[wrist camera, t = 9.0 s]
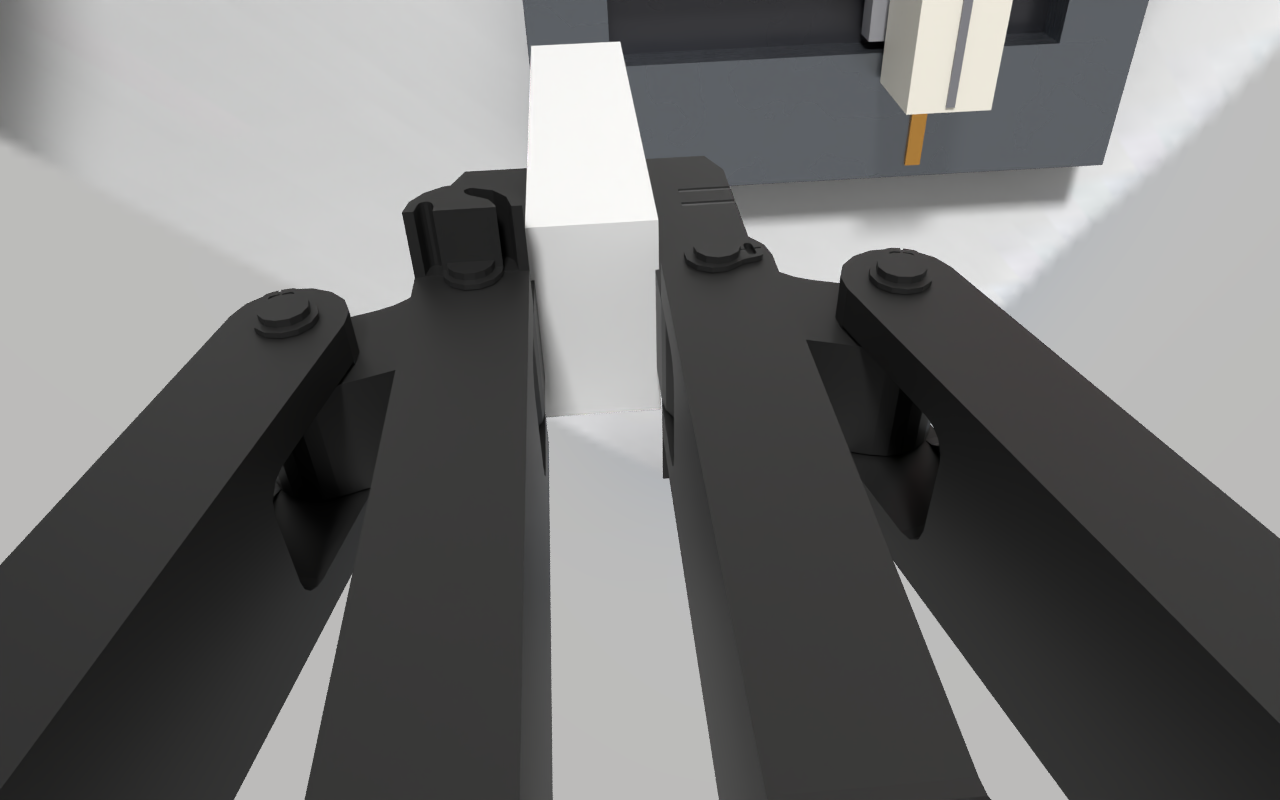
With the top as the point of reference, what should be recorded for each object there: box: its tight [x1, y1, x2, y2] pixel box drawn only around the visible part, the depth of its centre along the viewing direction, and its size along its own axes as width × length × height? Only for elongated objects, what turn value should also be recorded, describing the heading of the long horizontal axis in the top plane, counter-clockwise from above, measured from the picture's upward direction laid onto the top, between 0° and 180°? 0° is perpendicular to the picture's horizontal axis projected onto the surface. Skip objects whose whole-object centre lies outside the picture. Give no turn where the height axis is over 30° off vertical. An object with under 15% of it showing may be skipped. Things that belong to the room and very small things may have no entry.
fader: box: [861, 0, 1013, 115], centre depth 33 cm, size 4×5×5 cm
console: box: [523, 0, 1149, 186], centre depth 35 cm, size 23×13×3 cm, turn 92°
